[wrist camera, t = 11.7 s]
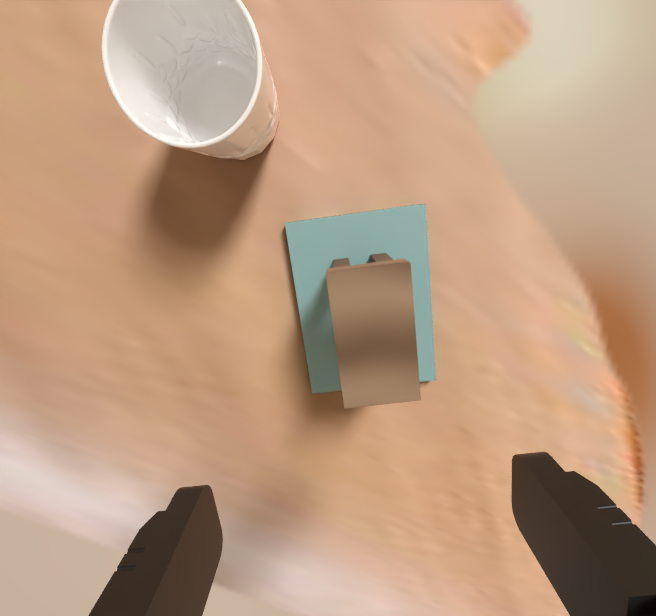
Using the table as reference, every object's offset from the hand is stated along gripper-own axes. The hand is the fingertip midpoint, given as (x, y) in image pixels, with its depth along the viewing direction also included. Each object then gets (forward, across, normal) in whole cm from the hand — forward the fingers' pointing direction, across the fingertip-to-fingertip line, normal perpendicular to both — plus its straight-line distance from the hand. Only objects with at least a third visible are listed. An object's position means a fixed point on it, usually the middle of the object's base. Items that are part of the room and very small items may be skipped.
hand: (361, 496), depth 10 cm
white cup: (+22, +6, -15) cm, 28 cm away
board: (+22, -2, +1) cm, 22 cm away
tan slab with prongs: (+21, -2, +1) cm, 21 cm away
